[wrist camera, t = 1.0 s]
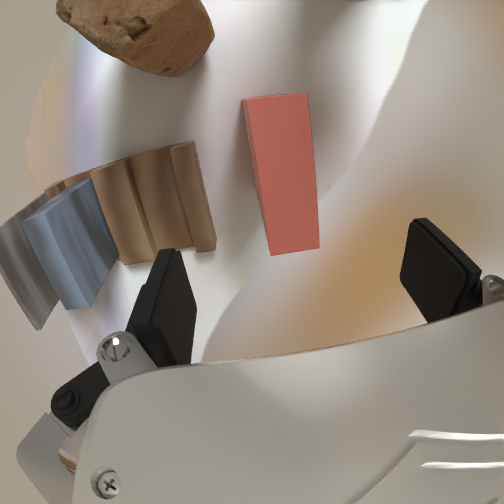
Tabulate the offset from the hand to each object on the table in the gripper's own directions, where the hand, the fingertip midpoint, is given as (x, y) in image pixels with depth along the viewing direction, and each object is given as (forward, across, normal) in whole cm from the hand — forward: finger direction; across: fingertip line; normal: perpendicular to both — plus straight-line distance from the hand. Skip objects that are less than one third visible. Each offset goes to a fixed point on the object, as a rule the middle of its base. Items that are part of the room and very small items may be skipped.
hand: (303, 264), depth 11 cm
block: (+27, +9, -15) cm, 32 cm away
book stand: (+26, +18, +6) cm, 32 cm away
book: (+26, -1, 0) cm, 26 cm away
